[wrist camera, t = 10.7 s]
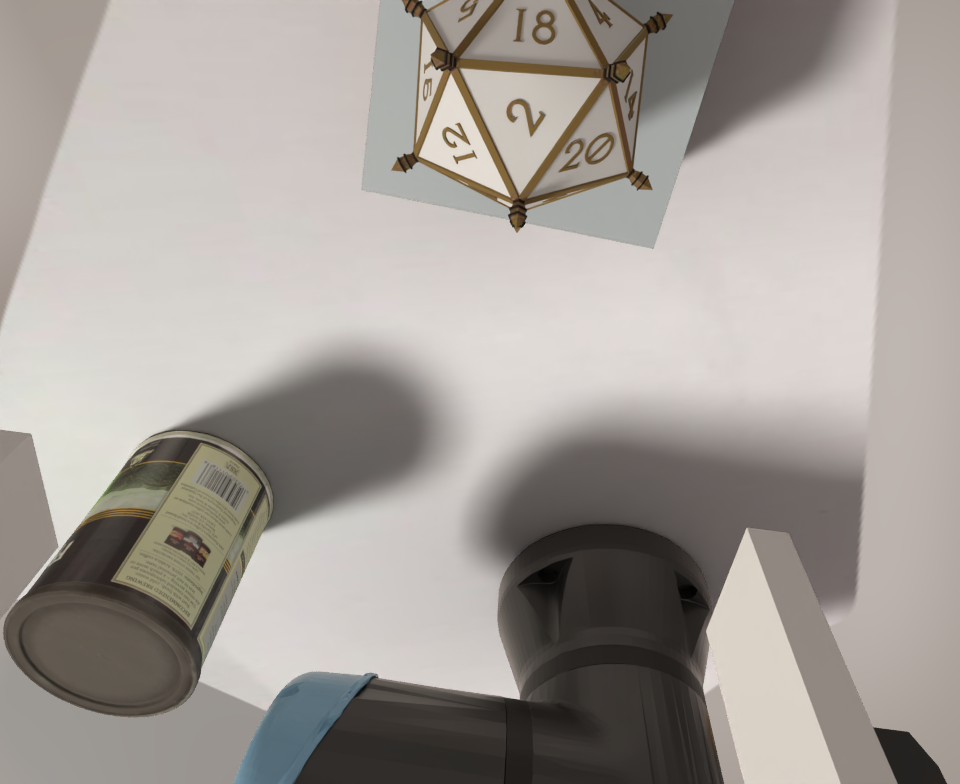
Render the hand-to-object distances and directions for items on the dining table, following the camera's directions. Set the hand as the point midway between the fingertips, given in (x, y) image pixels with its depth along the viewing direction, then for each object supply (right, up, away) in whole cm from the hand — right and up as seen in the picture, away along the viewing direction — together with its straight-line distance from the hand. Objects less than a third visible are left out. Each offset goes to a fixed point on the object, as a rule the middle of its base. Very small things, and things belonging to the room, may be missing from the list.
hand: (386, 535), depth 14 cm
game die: (+4, +14, +13) cm, 20 cm away
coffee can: (-18, -4, +38) cm, 42 cm away
